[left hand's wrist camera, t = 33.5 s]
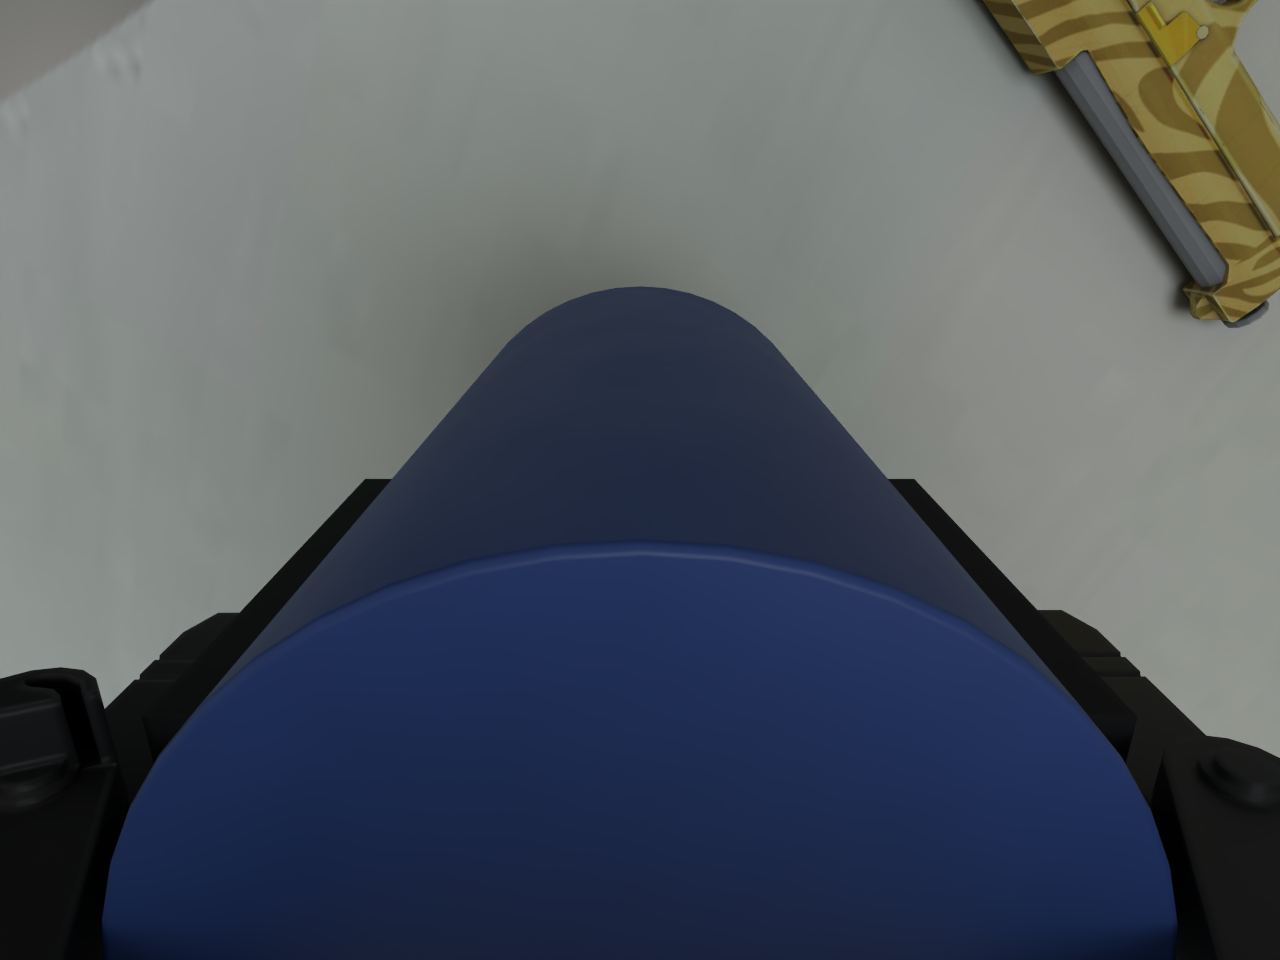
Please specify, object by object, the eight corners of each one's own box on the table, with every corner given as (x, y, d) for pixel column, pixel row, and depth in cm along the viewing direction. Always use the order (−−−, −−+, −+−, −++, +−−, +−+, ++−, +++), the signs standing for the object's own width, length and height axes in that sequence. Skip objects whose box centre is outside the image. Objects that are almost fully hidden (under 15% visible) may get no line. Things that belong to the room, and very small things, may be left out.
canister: (778, 636, 19) (999, 1357, 7) (455, 598, 19) (142, 1292, 7) (851, 313, 17) (1380, 630, 5) (476, 261, 16) (28, 463, 4)
